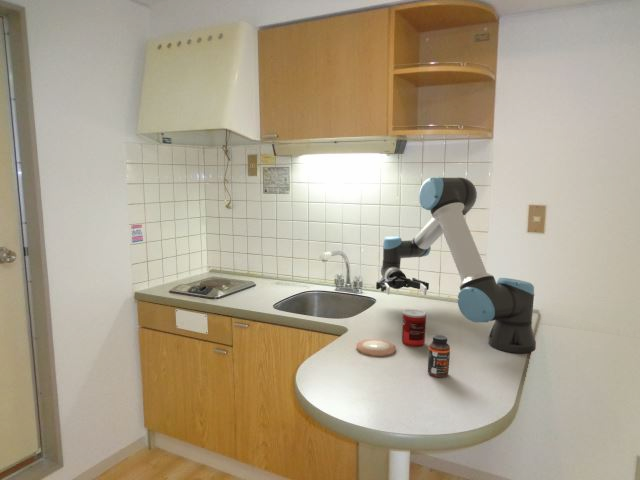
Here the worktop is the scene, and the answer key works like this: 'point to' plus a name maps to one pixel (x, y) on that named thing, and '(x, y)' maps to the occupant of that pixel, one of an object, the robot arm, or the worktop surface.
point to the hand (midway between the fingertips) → (407, 291)
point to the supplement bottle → (439, 356)
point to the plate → (376, 347)
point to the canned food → (413, 328)
